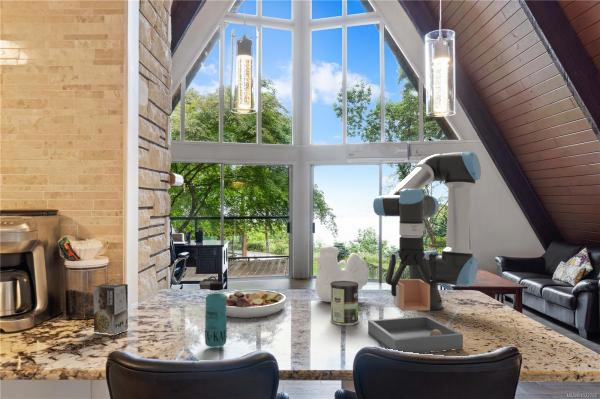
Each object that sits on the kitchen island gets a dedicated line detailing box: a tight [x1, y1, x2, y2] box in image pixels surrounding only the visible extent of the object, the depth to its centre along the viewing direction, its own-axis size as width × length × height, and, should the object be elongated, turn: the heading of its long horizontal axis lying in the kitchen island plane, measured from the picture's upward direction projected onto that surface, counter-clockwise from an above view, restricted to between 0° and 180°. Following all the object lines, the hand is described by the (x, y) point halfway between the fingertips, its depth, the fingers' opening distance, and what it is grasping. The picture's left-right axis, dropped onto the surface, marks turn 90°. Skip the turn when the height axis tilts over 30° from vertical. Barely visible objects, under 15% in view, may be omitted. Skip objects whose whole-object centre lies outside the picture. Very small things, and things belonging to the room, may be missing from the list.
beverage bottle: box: [204, 281, 228, 348], centre depth 123 cm, size 6×7×20 cm
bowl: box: [222, 289, 287, 319], centre depth 167 cm, size 30×30×8 cm
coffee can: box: [330, 281, 359, 326], centre depth 150 cm, size 10×10×14 cm
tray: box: [367, 315, 464, 354], centre depth 129 cm, size 22×20×4 cm
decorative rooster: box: [314, 245, 370, 303], centre depth 178 cm, size 25×16×25 cm, turn 94°
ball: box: [430, 329, 442, 336], centre depth 126 cm, size 4×4×4 cm
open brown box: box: [397, 278, 431, 312], centre depth 132 cm, size 9×9×8 cm
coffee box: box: [93, 282, 129, 335], centre depth 137 cm, size 9×6×16 cm
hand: (411, 305), depth 132 cm, fingers closed on open brown box, 9 cm apart
